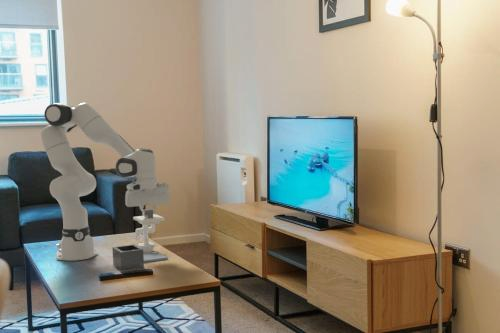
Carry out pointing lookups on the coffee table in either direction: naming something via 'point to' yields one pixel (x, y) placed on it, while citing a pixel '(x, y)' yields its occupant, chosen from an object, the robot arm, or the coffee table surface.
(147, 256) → the slate mat
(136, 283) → the coffee table surface
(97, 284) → the coffee table surface
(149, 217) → the lid
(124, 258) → the tin box
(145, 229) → the figurine
